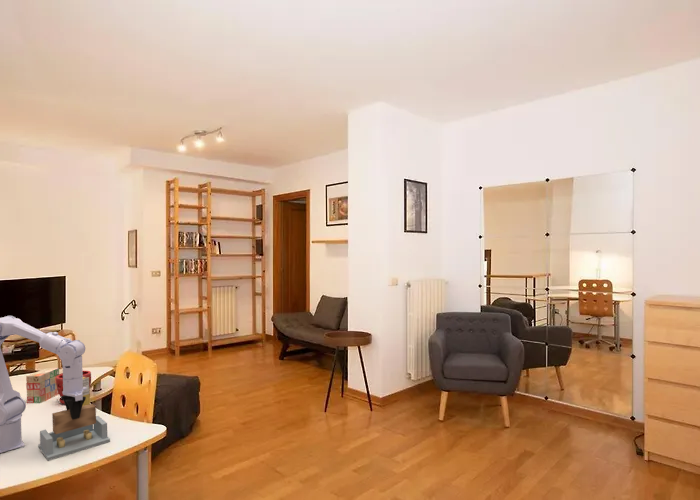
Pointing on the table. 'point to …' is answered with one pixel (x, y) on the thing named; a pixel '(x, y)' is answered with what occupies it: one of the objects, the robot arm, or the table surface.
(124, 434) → the table surface
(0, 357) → the robot arm
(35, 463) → the table surface
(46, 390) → the stack of blocks
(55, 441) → the peg stand
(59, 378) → the plant pot
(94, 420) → the board
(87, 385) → the candy box
